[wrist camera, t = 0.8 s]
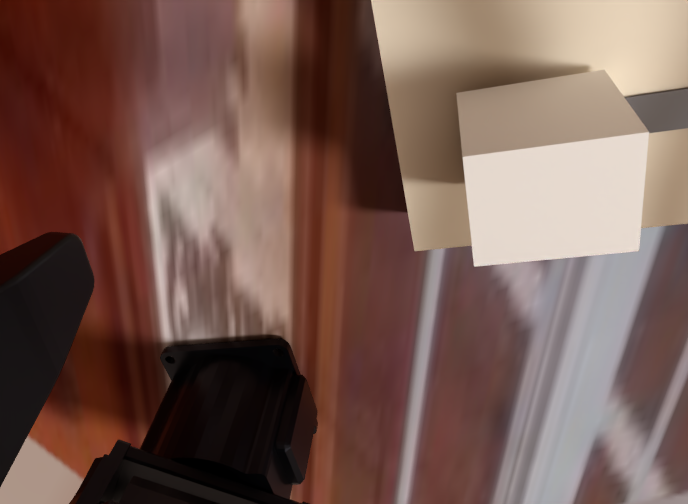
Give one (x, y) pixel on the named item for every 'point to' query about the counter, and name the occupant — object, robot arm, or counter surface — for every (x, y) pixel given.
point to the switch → (552, 169)
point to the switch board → (522, 66)
